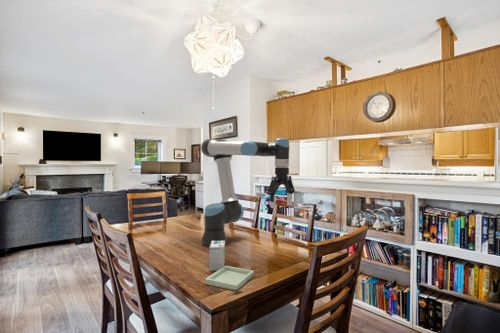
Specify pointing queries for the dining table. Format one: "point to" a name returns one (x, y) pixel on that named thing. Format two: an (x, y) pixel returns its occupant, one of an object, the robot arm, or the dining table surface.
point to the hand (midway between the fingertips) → (281, 206)
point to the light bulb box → (216, 255)
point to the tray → (230, 277)
